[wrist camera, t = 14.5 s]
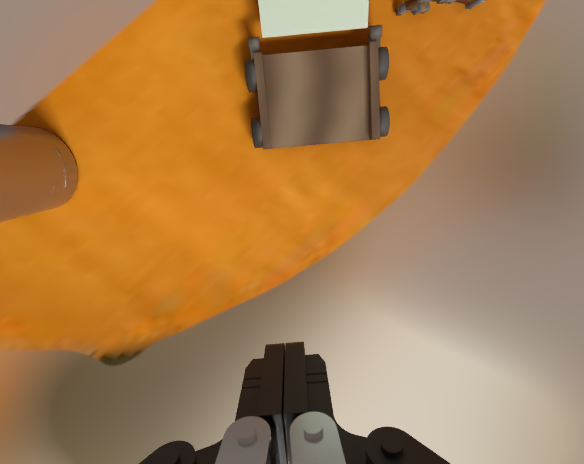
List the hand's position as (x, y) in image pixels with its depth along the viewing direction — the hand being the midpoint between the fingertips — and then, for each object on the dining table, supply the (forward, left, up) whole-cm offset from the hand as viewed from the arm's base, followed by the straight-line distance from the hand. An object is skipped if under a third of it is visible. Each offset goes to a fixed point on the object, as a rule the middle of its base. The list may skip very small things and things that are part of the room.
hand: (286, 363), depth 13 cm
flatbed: (+4, +12, -27) cm, 30 cm away
